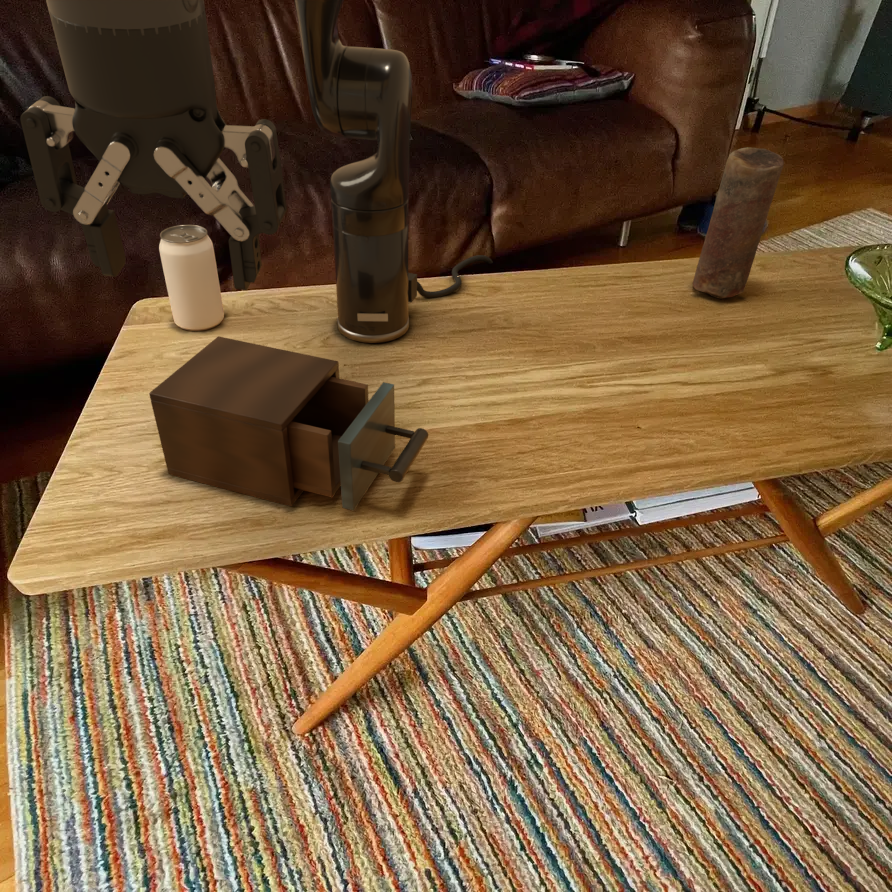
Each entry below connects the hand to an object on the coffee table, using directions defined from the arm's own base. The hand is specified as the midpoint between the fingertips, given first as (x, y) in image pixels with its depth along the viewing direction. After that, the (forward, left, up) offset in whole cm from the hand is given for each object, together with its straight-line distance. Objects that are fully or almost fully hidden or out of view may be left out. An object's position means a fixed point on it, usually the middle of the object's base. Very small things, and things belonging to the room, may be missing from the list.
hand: (179, 276), depth 50 cm
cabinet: (-14, -6, -27) cm, 31 cm away
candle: (-73, +37, -27) cm, 86 cm away
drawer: (-14, +3, -26) cm, 30 cm away
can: (-37, -28, -27) cm, 54 cm away
